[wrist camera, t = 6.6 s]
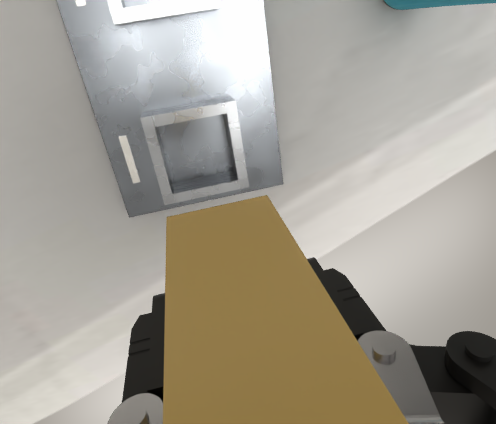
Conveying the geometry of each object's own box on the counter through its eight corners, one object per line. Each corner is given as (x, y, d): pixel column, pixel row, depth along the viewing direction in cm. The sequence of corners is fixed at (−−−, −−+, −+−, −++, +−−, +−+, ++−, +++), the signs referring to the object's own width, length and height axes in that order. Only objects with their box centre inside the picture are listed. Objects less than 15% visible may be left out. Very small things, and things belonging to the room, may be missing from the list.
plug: (266, 195, 14) (464, 513, 5) (277, 275, 16) (435, 622, 7) (166, 217, 14) (158, 617, 4) (189, 297, 16) (220, 702, 6)
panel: (241, -167, 23) (252, -199, 20) (280, 180, 34) (291, 194, 31) (12, -143, 21) (-15, -174, 18) (130, 212, 32) (126, 230, 29)
